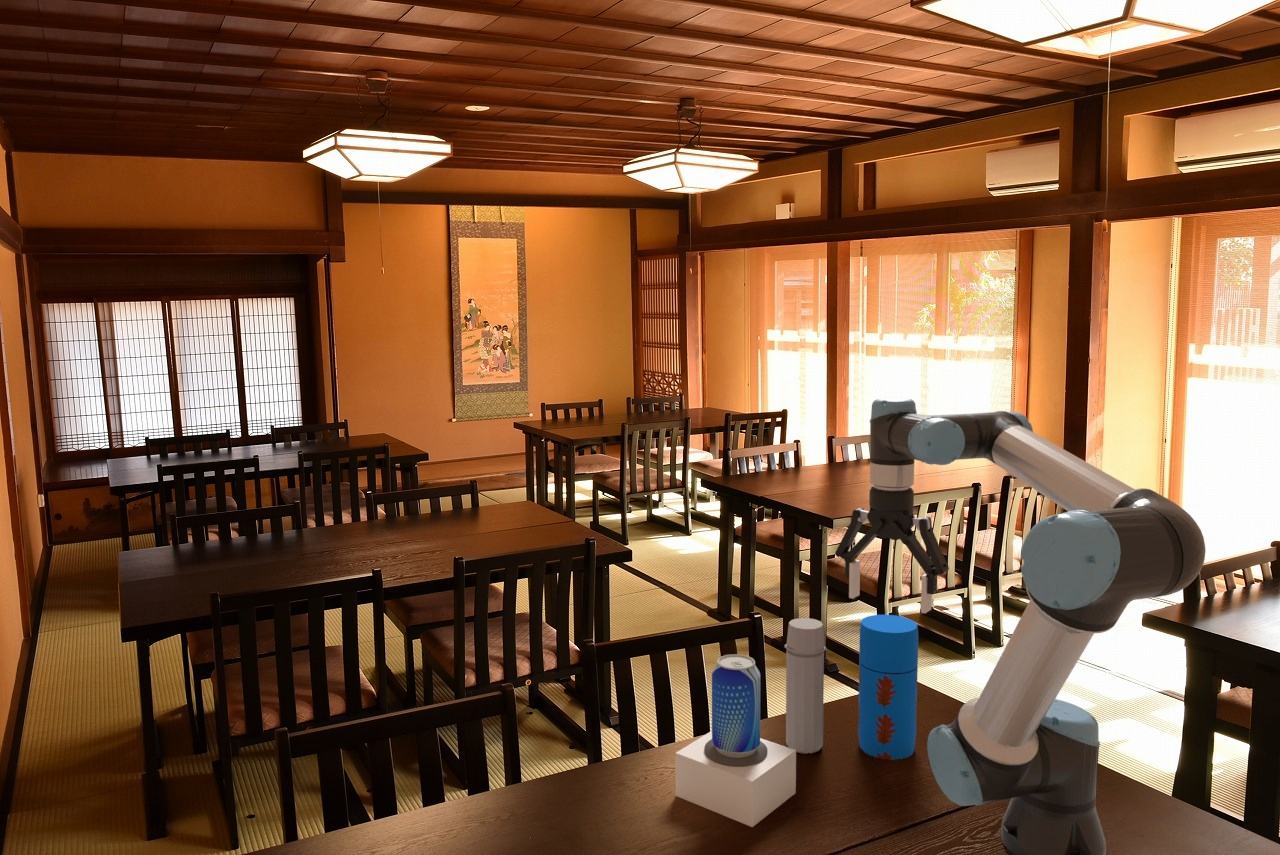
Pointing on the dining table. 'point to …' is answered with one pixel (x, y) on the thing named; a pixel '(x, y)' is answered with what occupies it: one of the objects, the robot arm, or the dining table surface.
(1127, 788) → the dining table surface
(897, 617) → the thermos
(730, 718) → the beer can
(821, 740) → the water bottle
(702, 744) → the white block with disc
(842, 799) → the dining table surface
